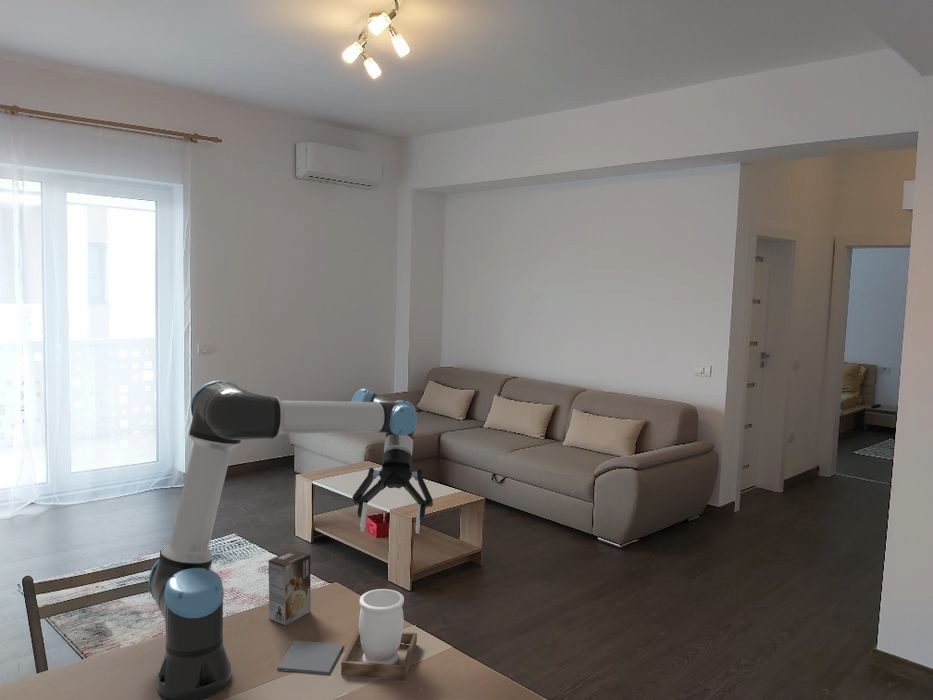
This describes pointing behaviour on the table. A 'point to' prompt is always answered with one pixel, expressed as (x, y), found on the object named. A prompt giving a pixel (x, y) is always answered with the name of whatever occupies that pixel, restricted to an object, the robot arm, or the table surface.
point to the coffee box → (289, 586)
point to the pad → (311, 657)
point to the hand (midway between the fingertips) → (389, 530)
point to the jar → (381, 625)
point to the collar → (373, 668)
